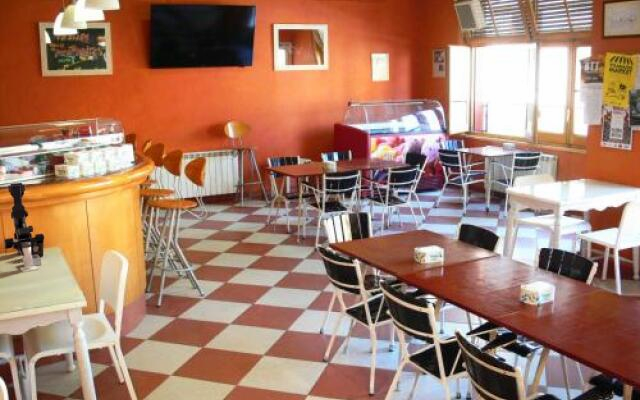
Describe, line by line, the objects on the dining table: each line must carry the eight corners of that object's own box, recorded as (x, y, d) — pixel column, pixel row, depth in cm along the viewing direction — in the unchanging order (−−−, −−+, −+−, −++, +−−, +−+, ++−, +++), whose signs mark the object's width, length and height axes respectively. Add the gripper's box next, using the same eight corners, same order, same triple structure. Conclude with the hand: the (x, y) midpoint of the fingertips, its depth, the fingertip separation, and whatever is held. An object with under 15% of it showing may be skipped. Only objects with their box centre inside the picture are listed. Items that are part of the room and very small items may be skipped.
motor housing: (23, 264, 349) (22, 256, 348) (38, 261, 353) (37, 254, 353) (25, 267, 343) (25, 260, 342) (41, 264, 347) (40, 257, 346)
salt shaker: (23, 266, 340) (20, 242, 338) (32, 264, 343) (29, 241, 340) (25, 268, 337) (22, 244, 334) (33, 266, 339) (31, 243, 337)
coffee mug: (48, 254, 367) (46, 237, 365) (40, 259, 358) (38, 241, 356) (28, 254, 368) (26, 237, 366) (20, 259, 359) (18, 241, 357)
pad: (19, 268, 341) (19, 268, 341) (35, 266, 345) (35, 265, 345) (22, 272, 335) (22, 271, 335) (38, 269, 339) (38, 268, 339)
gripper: (2, 223, 333) (8, 249, 326) (41, 218, 343) (48, 243, 336) (1, 235, 341) (7, 261, 334) (40, 230, 351) (46, 254, 345)
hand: (27, 254), depth 337 cm, fingers closed on salt shaker, 4 cm apart
